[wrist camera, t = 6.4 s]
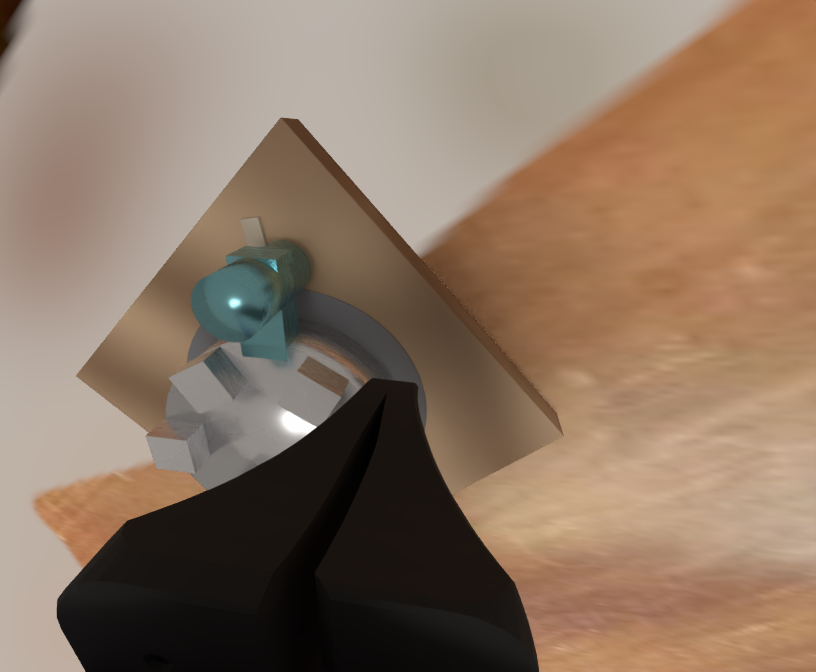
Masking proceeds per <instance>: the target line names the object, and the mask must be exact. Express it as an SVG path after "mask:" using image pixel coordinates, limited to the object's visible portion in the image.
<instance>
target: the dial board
mask: <svg viewBox="0 0 816 672" xmlns="http://www.w3.org/2000/svg"><path fill="white" fill-rule="evenodd" d="M276 240H285V241H289V242H291V243H294V244H295V245H297V246H298V247H300V248H301V249H302V250H303V251H304V253H305V254H306V255H307V257H308V259H309V261H310V264H311V270H312V274H311V279H310V281H309V283H308V285H307V286H306V287H305V288H304V289H303V290H302V291H301V292H300V293H299V294H298V295H297V296H296V301H297V312H298V318H301V319H307V320H310V321H314V322H318V323H321V324H324V325H326V326H328V327H331V328H333V329H336V330H337V331H339V332H341V333H343V334H345V335H347V336H348V337H350V338H351V339H353V340H354V341H356V342H357V343H359V344H360V345H361V346H362V347H364V348H365V349H366V350H367V351H368V352H369V353H370V354H372V356H373V357H374V358H375V359H376V360H377V361H378V362H379V363H380V364H381V366H382V367H383V368H384V370H385V371H386V373H387V374H388V376H389V377H390V379H391V380H395V381H404V382H413V383H416V384H417V386H418V405H419V411H420V416H421V420H422V424H423V427H424V431H425V434H426V437H427V441H428V443H429V446H430V449H431V451H432V454H433V457H434V459H435V461H436V464H437V466H438V468H439V470H440V472H441V475H442V477H443V479H444V481H445V483H446V485H447V487H448V488H449V490H450V492H451V494H454V493H455V492H457V491H459V490H461V489H463V488H465V487H467V486H469V485H471V484H473V483H475V482H477V481H478V480H480V479H482V478H484V477H486V476H488V475H490V474H492V473H494V472H496V471H498V470H500V469H501V468H503V467H505V466H507V465H509V464H511V463H513V462H515V461H517V460H519V459H521V458H523V457H524V456H526V455H528V454H530V453H532V452H534V451H536V450H538V449H540V448H542V447H544V446H546V445H547V444H549V443H551V442H553V441H555V440H557V439H559V438H561V437H563V436H564V435H563V432H562V429H561V426H560V423H559V419H558V416H557V414H556V413H555V411H554V410H553V409H552V408H551V407H550V406H549V405H548V404H547V402H546V401H545V400H544V399H543V398H542V397H541V396H540V394H539V393H538V392H537V391H536V390H535V389H534V388H533V386H532V385H531V384H530V383H529V382H528V381H527V380H526V378H525V377H524V376H523V375H522V374H521V373H520V372H519V370H518V369H517V368H516V367H515V366H514V365H513V364H512V362H511V361H510V360H509V359H508V358H507V357H506V356H505V354H504V353H503V352H502V351H501V350H500V349H499V348H498V347H497V345H496V344H495V343H494V342H493V341H492V340H491V339H490V337H489V336H488V335H487V334H486V333H485V332H484V331H483V329H482V328H481V327H480V326H479V325H478V324H477V323H476V321H475V320H474V319H473V318H472V317H471V316H470V315H469V313H468V312H467V311H466V310H465V309H464V308H463V307H462V305H461V304H460V303H459V302H458V301H457V300H456V299H455V298H454V296H453V295H452V294H451V293H450V292H449V291H448V290H447V288H446V287H445V286H444V285H443V284H442V283H441V282H440V280H439V279H438V278H437V277H436V276H435V275H434V274H433V272H432V271H431V270H430V269H429V268H428V267H427V266H426V264H425V263H424V262H423V261H422V260H421V259H420V258H419V256H418V255H417V254H416V253H415V252H414V251H413V250H412V249H411V247H410V246H409V245H408V244H407V243H406V242H405V241H404V239H403V238H402V237H401V236H400V235H399V234H398V233H397V231H396V230H395V229H394V228H393V227H392V226H391V225H390V223H389V222H388V221H387V220H386V219H385V218H384V217H383V215H382V214H381V213H380V212H379V211H378V210H377V209H376V208H375V206H374V205H373V204H372V203H371V202H370V201H369V199H368V198H367V197H366V196H365V195H364V194H363V193H362V192H361V190H360V189H359V188H358V187H357V186H356V185H355V184H354V182H353V181H352V180H351V179H350V178H349V177H348V176H347V175H346V173H345V172H344V171H343V170H342V169H341V168H340V166H339V165H338V164H337V163H336V162H335V161H334V160H333V159H332V157H331V156H330V155H329V154H328V153H327V152H326V150H325V149H324V148H323V147H322V146H321V145H320V144H319V143H318V141H317V140H316V139H315V138H314V137H313V136H312V135H311V133H310V132H309V131H308V130H307V129H306V128H305V127H304V125H303V124H302V123H301V122H300V121H299V120H298V119H289V118H280V119H279V120H278V122H277V123H276V124H275V125H274V127H273V128H272V129H271V130H270V132H269V133H268V134H267V136H266V137H265V138H264V139H263V141H262V142H261V143H260V144H259V146H258V147H257V148H256V149H255V151H254V152H253V153H252V155H251V156H250V157H249V158H248V159H247V161H246V162H245V163H244V165H243V166H242V167H241V168H240V170H239V171H238V172H237V173H236V175H235V176H234V177H233V178H232V180H231V181H230V182H229V183H228V185H227V186H226V187H225V188H224V190H223V191H222V192H221V194H220V195H219V196H218V197H217V199H216V200H215V201H214V202H213V204H212V205H211V206H210V207H209V209H208V210H207V211H206V213H205V214H204V215H203V216H202V218H201V219H200V220H199V221H198V223H197V224H196V225H195V226H194V228H193V229H192V230H191V231H190V233H189V234H188V235H187V236H186V238H185V239H184V240H183V242H182V243H181V244H180V245H179V246H178V248H177V249H176V251H175V252H174V253H173V254H172V256H171V257H170V258H169V259H168V260H167V262H166V263H165V264H164V265H163V267H162V268H161V269H160V270H159V272H158V273H157V274H156V276H155V277H154V278H153V279H152V281H151V282H150V283H149V284H148V286H147V287H146V288H145V289H144V291H143V292H142V293H141V294H140V296H139V297H138V298H137V300H136V301H135V302H134V303H133V304H132V306H131V307H130V309H129V310H128V311H127V312H126V313H125V315H124V316H123V317H122V319H121V320H120V321H119V322H118V323H117V325H116V326H115V327H114V328H113V330H112V331H111V332H110V334H109V335H108V336H107V337H106V339H105V340H104V341H103V342H102V344H101V345H100V346H99V347H98V349H97V350H96V351H95V352H94V354H93V355H92V356H91V358H90V359H89V360H88V361H87V363H86V364H85V365H84V366H83V368H82V369H81V370H80V371H79V373H78V374H77V375H76V376H77V377H78V378H79V379H81V380H82V381H83V382H84V383H86V384H87V385H88V386H90V387H91V388H92V389H93V390H95V391H96V392H97V393H99V394H100V395H101V396H102V397H104V398H105V399H106V400H108V401H109V402H110V403H111V404H113V405H114V406H115V407H117V408H118V409H119V410H120V411H122V412H123V413H124V414H126V415H127V416H128V417H129V418H131V419H132V420H133V421H135V422H136V423H137V424H139V425H140V426H141V427H142V428H144V429H145V430H146V431H147V432H150V431H151V430H152V429H153V428H155V427H156V426H157V425H158V424H159V423H160V422H161V421H162V420H163V419H166V403H167V398H168V394H169V391H170V388H171V386H172V384H173V383H172V382H171V380H170V379H169V377H170V376H171V375H172V374H174V373H175V372H176V371H177V370H179V369H180V368H181V367H182V366H184V365H185V364H186V363H188V362H190V361H192V360H194V359H196V358H197V357H198V356H199V355H201V354H202V353H203V352H204V351H205V350H207V349H208V348H209V347H210V346H212V345H213V344H214V343H215V342H217V341H218V340H219V339H218V338H216V337H214V336H213V335H211V334H210V333H209V332H207V331H206V330H205V329H204V328H203V327H202V326H201V325H200V323H199V322H198V320H197V319H196V317H195V315H194V313H193V310H192V306H191V294H192V290H193V288H194V286H195V285H196V283H197V282H198V281H199V280H201V279H202V278H204V277H206V276H208V275H210V274H212V273H213V272H215V271H217V270H219V269H221V268H223V267H225V266H227V262H226V255H228V254H230V253H232V252H234V251H236V250H238V249H240V248H242V247H244V246H251V247H262V246H264V245H266V244H268V243H270V242H272V241H276Z"/></svg>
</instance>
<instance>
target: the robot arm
mask: <svg viewBox="0 0 816 672" xmlns="http://www.w3.org/2000/svg"><path fill="white" fill-rule="evenodd" d="M57 619H58V621H59V624H60V627H61V629H62V631H63V633H64V635H65V636H66V638H67V640H68V641H69V643H70V645H71V647H72V648H73V650H74V652H75V654H76V655H77V657H78V659H79V660H80V662H81V664H82V666H83V668H84V669H85V672H539V667H538V660H537V654H536V650H535V646H534V641H533V637H532V634H531V630H530V626H529V623H528V620H527V616H526V613H525V610H524V607H523V604H522V602H521V599H520V596H519V593H518V591H517V588H516V585H515V583H514V581H513V580H512V579H511V578H510V577H509V575H508V574H507V573H506V572H505V571H504V569H503V568H502V567H501V566H500V565H499V563H498V562H497V561H496V559H495V558H494V557H493V556H492V554H491V553H490V552H489V550H488V549H487V548H486V546H485V545H484V544H483V542H482V541H481V539H480V538H479V537H478V535H477V534H476V532H475V531H474V530H473V528H472V527H471V525H470V523H469V522H468V520H467V519H466V517H465V515H464V514H463V512H462V511H461V509H460V507H459V506H458V504H457V503H456V501H455V499H454V498H453V496H452V494H451V492H450V490H449V488H448V487H447V485H446V483H445V481H444V479H443V477H442V475H441V472H440V470H439V468H438V466H437V464H436V461H435V459H434V457H433V454H432V451H431V449H430V446H429V443H428V441H427V437H426V434H425V431H424V427H423V424H422V420H421V416H420V411H419V405H418V386H417V384H416V383H413V382H404V381H395V380H386V379H377V378H371V379H370V380H369V381H368V382H366V383H365V384H364V385H363V386H362V387H361V388H360V389H359V390H358V391H357V392H356V393H355V394H354V395H353V396H352V397H351V398H350V399H349V400H348V401H347V402H346V403H345V404H343V405H342V406H341V407H340V408H339V409H338V410H337V411H336V412H334V413H333V414H332V415H331V416H330V417H329V418H328V419H326V420H325V421H324V422H323V423H321V424H320V425H319V426H317V427H316V428H315V429H314V430H312V431H311V432H310V433H309V434H307V435H306V436H305V437H303V438H302V439H300V440H299V441H298V442H296V443H295V444H293V445H292V446H290V447H289V448H287V449H286V450H284V451H282V452H281V453H279V454H278V455H276V456H274V457H273V458H271V459H269V460H267V461H265V462H264V463H262V464H260V465H258V466H256V467H254V468H252V469H251V470H249V471H247V472H245V473H243V474H241V475H240V476H238V477H236V478H233V479H231V480H229V481H227V482H225V483H223V484H221V485H219V486H216V487H214V488H212V489H210V490H207V491H205V492H203V493H200V494H198V495H196V496H193V497H191V498H188V499H186V500H183V501H181V502H178V503H175V504H173V505H170V506H167V507H164V508H162V509H159V510H156V511H153V512H151V513H148V514H145V515H143V516H140V517H137V518H134V519H131V520H128V521H127V522H126V523H125V524H124V525H123V526H122V527H121V528H120V529H119V530H118V531H117V532H116V533H115V534H114V535H113V536H112V537H111V538H110V539H109V540H108V541H107V543H106V544H105V545H104V546H103V547H102V548H101V549H100V550H99V552H98V553H97V554H96V555H95V556H94V557H93V558H92V559H91V560H90V562H89V563H88V564H87V565H86V566H85V567H84V568H83V569H82V571H81V572H80V573H79V574H78V575H77V576H76V578H75V579H74V580H73V581H72V582H71V583H70V584H69V585H68V586H67V587H66V588H65V590H64V591H63V593H62V594H61V595H60V596H59V598H58V600H57Z"/></svg>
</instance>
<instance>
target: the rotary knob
mask: <svg viewBox="0 0 816 672" xmlns="http://www.w3.org/2000/svg"><path fill="white" fill-rule="evenodd" d="M226 262H227V266H225V267H223V268H221V269H219V270H217V271H215V272H213V273H212V274H210V275H208V276H206V277H204V278H202V279H201V280H199V281H198V282H197V283H196V285H195V286H194V288H193V290H192V294H191V306H192V310H193V313H194V315H195V317H196V319H197V320H198V322H199V323H200V325H201V326H202V327H203V328H204V329H205V330H206V331H207V332H209V333H210V334H211V335H213V336H214V337H216V338H218V339H219V340H218V341H217V342H215V343H214V344H213V345H212V346H210V347H209V348H208V349H207V350H205V351H204V352H203V353H202V354H201V355H199V356H198V357H197V358H196V359H194V360H192V361H190V362H188V363H186V364H185V365H184V366H182V367H181V368H180V369H179V370H177V371H176V372H175V373H174V374H172V375H171V376H170V377H169V379H170V380H171V382H172V383H173V384H172V386H171V388H170V391H169V394H168V398H167V403H166V419H163V420H162V421H161V422H160V423H159V424H158V425H157V426H156V427H155V428H153V429H152V430H151V431H150V432H149V433H148V434H147V435H146V438H147V441H148V444H149V447H150V450H151V454H152V457H153V460H154V463H155V466H156V468H157V469H165V470H172V471H179V472H187V473H190V474H191V475H192V476H193V477H194V478H195V479H196V480H197V481H198V482H199V483H200V484H201V485H202V486H203V487H204V488H205V489H206V490H210V489H212V488H214V487H216V486H219V485H221V484H223V483H225V482H227V481H229V480H231V479H233V478H236V477H238V476H240V475H241V474H243V473H245V472H247V471H249V470H251V469H252V468H254V467H256V466H258V465H260V464H262V463H264V462H265V461H267V460H269V459H271V458H273V457H274V456H276V455H278V454H279V453H281V452H282V451H284V450H286V449H287V448H289V447H290V446H292V445H293V444H295V443H296V442H298V441H299V440H300V439H302V438H303V437H305V436H306V435H307V434H309V433H310V432H311V431H312V430H314V429H315V428H316V427H317V426H319V425H320V424H321V423H323V422H324V421H325V420H326V419H328V418H329V417H330V416H331V415H332V414H333V413H334V412H336V411H337V410H338V409H339V408H340V407H341V406H342V405H343V404H345V403H346V402H347V401H348V400H349V399H350V398H351V397H352V396H353V395H354V394H355V393H356V392H357V391H358V390H359V389H360V388H361V387H362V386H363V385H364V384H365V383H366V382H368V381H369V380H370V379H371V378H377V379H386V380H391V379H390V377H389V376H388V374H387V373H386V371H385V370H384V368H383V367H382V366H381V364H380V363H379V362H378V361H377V360H376V359H375V358H374V357H373V356H372V354H370V353H369V352H368V351H367V350H366V349H365V348H364V347H362V346H361V345H360V344H359V343H357V342H356V341H354V340H353V339H351V338H350V337H348V336H347V335H345V334H343V333H341V332H339V331H337V330H336V329H333V328H331V327H328V326H326V325H324V324H321V323H318V322H314V321H310V320H307V319H301V318H298V312H297V301H296V296H297V295H298V294H299V293H300V292H301V291H302V290H303V289H304V288H305V287H306V286H307V285H308V283H309V281H310V279H311V274H312V270H311V264H310V261H309V259H308V257H307V255H306V254H305V253H304V251H303V250H302V249H301V248H300V247H298V246H297V245H295V244H294V243H291V242H289V241H285V240H276V241H272V242H270V243H268V244H266V245H264V246H262V247H251V246H244V247H242V248H240V249H238V250H236V251H234V252H232V253H230V254H228V255H226Z"/></svg>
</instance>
